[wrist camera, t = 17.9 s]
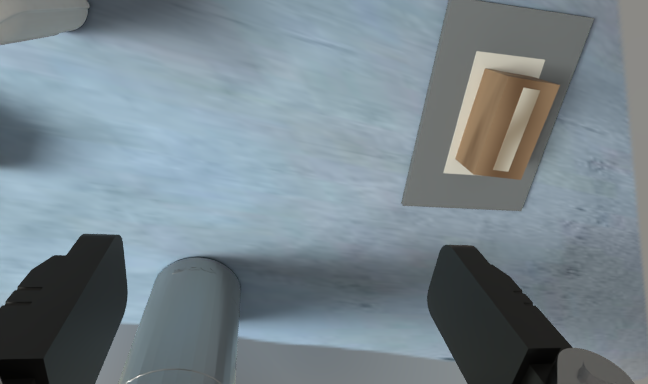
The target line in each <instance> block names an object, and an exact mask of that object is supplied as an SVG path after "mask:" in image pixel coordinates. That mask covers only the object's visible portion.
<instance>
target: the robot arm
mask: <svg viewBox="0 0 648 384" xmlns="http://www.w3.org/2000/svg"><path fill="white" fill-rule="evenodd" d="M240 292H241V289H240V284H239V281H238V279H237V277H236V275H235V274H234V273H233V272H232V271H231V270H230V269H229V268H228V267H226V266H225V265H223V264H221V263H219V262H217V261H214V260H211V259H207V258H198V257H197V258H186V259H182V260H178V261H176V262H174V263H172V264H170V265H168V266H167V267H166V268H164V269H163V270H162V271H161V272H160V274H159V275H158V276H157V278H156V280H155V283H154V285H153V288H152V291H151V294H150V296H149V299H148V302H147V305H146V307H145V310H144V313H143V315H142V318H141V321H140V324H139V327H138V330H137V332H136V335H135V338H134V341H133V343H132V346H131V349H130V353H129V355H128V358H127V360H126V363H125V366H124V369H123V371H122V374H121V377H120V380H119V383H118V384H235V376H236V360H237V343H238V327H239V312H240ZM127 293H128V292H127V279H126V269H125V259H124V249H123V241H122V238H121V236H120V235H107V234H83V235H81V236H80V237H79V239H78V240H77V241H76V243H75V244H74V246H73V247H72V248H71V250H70V251H69V252H68V254H67V255H66V256H61V255H54V256H52V257H51V258H49V259H48V260H46V261H45V262H43V263H41V264H40V265H38V266H37V267H35V268H34V269H32V270H31V271H30V272H29V274H28V275H27V276H26V277H25V279H24V280H23V281H22V282H21V283H20V285H19V286H18V289H17V290H15V291H14V292H13V293H12V294H11V296H10V297H9V298H8V299H7V301H6V304H5V306H2V307H1V308H0V384H95V382H96V380H97V377H98V375H99V372H100V370H101V368H102V366H103V363H104V361H105V358H106V356H107V354H108V351H109V349H110V346H111V344H112V341H113V339H114V337H115V335H116V332H117V330H118V327H119V325H120V323H121V320H122V318H123V315H124V312H125V308H126V303H127ZM427 301H428V308H429V312H430V314H431V316H432V318H433V320H434V322H435V324H436V326H437V328H438V329H439V331H440V333H441V335H442V337H443V339H444V341H445V343H446V344H447V346H448V348H449V350H450V352H451V354H452V356H453V357H454V359H455V361H456V363H457V365H458V367H459V369H460V371H461V372H462V374H463V376H464V378H465V380H466V382H467V383H468V384H634V382H633V381H632V380H631V378H630V377H629V376H628V375H627V374H626V373H625V372H624V371H623V370H622V369H621V368H619V367H618V366H617V365H615V364H614V363H612V362H611V361H609V360H608V359H606V358H604V357H602V356H600V355H598V354H596V353H594V352H591V351H588V350H584V349H580V348H572V346H571V345H570V344H569V343H568V342H567V341H566V340H565V338H564V337H563V336H562V335H561V334H560V333H559V332H558V331H557V329H556V328H555V327H554V326H553V325H552V324H551V323H550V322H549V320H548V319H547V318H546V317H545V316H544V315H543V314H542V313H541V311H540V310H539V309H538V308H537V307H536V306H533V302H532V301H531V300H530V299H529V298H528V297H527V296H526V295H525V294H523V293H522V290H521V289H520V288H519V287H518V285H517V284H516V283H515V282H514V281H513V280H512V279H511V278H510V277H509V276H508V275H506V274H505V273H504V272H502V271H501V270H499V269H498V268H496V267H495V266H493V265H490V264H489V262H488V261H487V260H486V259H485V258H484V257H483V255H482V254H481V253H480V252H479V251H478V250H477V248H476V247H474V246H468V245H444V246H443V247H442V248H441V250H440V253H439V256H438V259H437V263H436V266H435V269H434V273H433V276H432V279H431V283H430V286H429V290H428V296H427Z"/></svg>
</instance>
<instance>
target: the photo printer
mask: <svg viewBox="0 0 648 384" xmlns="http://www.w3.org/2000/svg"><path fill="white" fill-rule="evenodd" d="M88 8H90V6H89V3H88V2H87V0H0V45H5V44H10V43H16V42H22V41H27V40H33V39H38V38H44V37H49V36H54V35H57V34H59V33H62V32H68V31H73V30H76V29H78V28H79V27H81V26H82V25H83V23H84V22H85V20H86V18H87V14H88Z"/></svg>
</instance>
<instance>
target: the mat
mask: <svg viewBox="0 0 648 384" xmlns="http://www.w3.org/2000/svg"><path fill="white" fill-rule="evenodd" d="M593 20H594V18H589V17H582V16H576V15H569V14H562V13H556V12H549V11H543V10H536V9H529V8H523V7H516V6H510V5H503V4H496V3H490V2H483V1H476V0H449V1H448V5H447V9H446V14H445V18H444V22H443V27H442V31H441V35H440V39H439V44H438V48H437V52H436V57H435V61H434V65H433V69H432V74H431V78H430V82H429V87H428V91H427V95H426V99H425V104H424V108H423V112H422V117H421V121H420V125H419V129H418V134H417V138H416V142H415V147H414V151H413V155H412V159H411V164H410V168H409V172H408V177H407V181H406V185H405V189H404V194H403V198H402V202H401V203H402V205H403V206H422V207H444V208H465V209H487V210H508V211H521V210H522V208H523V205H524V202H525V200H526V197H527V195H528V192H529V189H530V187H531V184H532V181H533V179H534V176H535V173H536V171H537V168H538V166H539V163H540V160H541V158H542V155H543V152H544V150H545V147H546V144H547V142H548V139H549V137H550V134H551V131H552V129H553V126H554V123H555V121H556V118H557V115H558V113H559V110H560V108H561V105H562V102H563V100H564V97H565V94H566V92H567V89H568V86H569V84H570V81H571V78H572V76H573V73H574V71H575V68H576V65H577V63H578V60H579V57H580V55H581V52H582V49H583V47H584V44H585V42H586V39H587V36H588V34H589V31H590V28H591V26H592V23H593ZM485 68H486V69H492V70H497V71H503V72H509V73H515V74H520V75H526V76H532V77H535V78H538V79H542V80H545V81H548V82H552V83H555V84H558V85H560V87H559V89H558V92H557V94H556V96H555V99H554V101H553V104H552V106H551V108H550V111H549V113H548V116H547V118H546V121H545V123H544V125H543V128H542V130H541V133H540V135H539V138H538V140H537V142H536V145H535V147H534V150H533V152H532V154H531V157H530V159H529V162H528V164H527V167H526V169H525V171H524V174H523V176H522V179H521V180H516V179H507V178H499V177H490V176H481V175H474V174H472V173H471V172H470V171H469V170H468V169H466V168H465V167H464V166H463V165H462V164H460V163H459V162H458V161H457V160H456V159H455V158H456V155H457V152H458V148H459V145H460V142H461V139H462V136H463V133H464V130H465V127H466V124H467V121H468V118H469V115H470V112H471V109H472V106H473V103H474V100H475V97H476V94H477V91H478V88H479V85H480V82H481V79H482V76H483V73H484V70H485Z"/></svg>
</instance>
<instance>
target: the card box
mask: <svg viewBox="0 0 648 384" xmlns="http://www.w3.org/2000/svg"><path fill="white" fill-rule="evenodd" d="M559 87H560V85H558V84H555V83H552V82H548V81H545V80H542V79H538V78H535V77H532V76H526V75H520V74H515V73H509V72H503V71H497V70H492V69H486V68H485V70H484V73H483V76H482V79H481V82H480V85H479V88H478V91H477V94H476V97H475V100H474V103H473V106H472V109H471V112H470V115H469V118H468V121H467V124H466V127H465V130H464V133H463V136H462V139H461V142H460V145H459V148H458V152H457V155H456V158H455V159H456V160H457V161H458V162H459V163H460V164H462V165H463V166H464V167H465V168H466V169H468V170H469V171H470V172H471V173H472V174H474V175H481V176H490V177H499V178H507V179H516V180H521V179H522V176H523V174H524V171H525V169H526V167H527V164H528V162H529V159H530V157H531V154H532V152H533V150H534V147H535V145H536V142H537V140H538V138H539V135H540V133H541V130H542V128H543V125H544V123H545V121H546V118H547V116H548V113H549V111H550V108H551V106H552V104H553V101H554V99H555V96H556V94H557V92H558V89H559Z"/></svg>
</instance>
